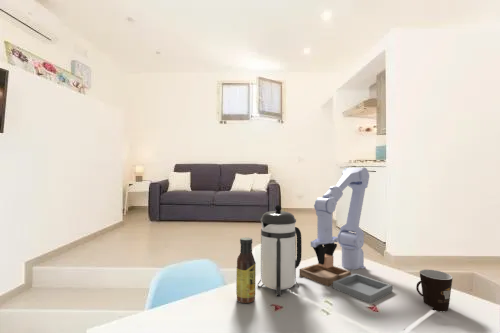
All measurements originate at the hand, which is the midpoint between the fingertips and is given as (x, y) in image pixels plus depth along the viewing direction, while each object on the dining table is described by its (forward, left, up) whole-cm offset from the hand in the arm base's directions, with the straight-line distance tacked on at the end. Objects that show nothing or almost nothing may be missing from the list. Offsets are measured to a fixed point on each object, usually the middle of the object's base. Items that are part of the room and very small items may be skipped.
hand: (324, 262), depth 110 cm
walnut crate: (0, 0, -6) cm, 6 cm away
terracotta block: (0, 0, -1) cm, 1 cm away
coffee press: (+20, -5, -6) cm, 21 cm away
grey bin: (0, +16, -6) cm, 17 cm away
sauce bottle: (+36, -4, -6) cm, 37 cm away
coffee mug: (-8, +34, -6) cm, 36 cm away
